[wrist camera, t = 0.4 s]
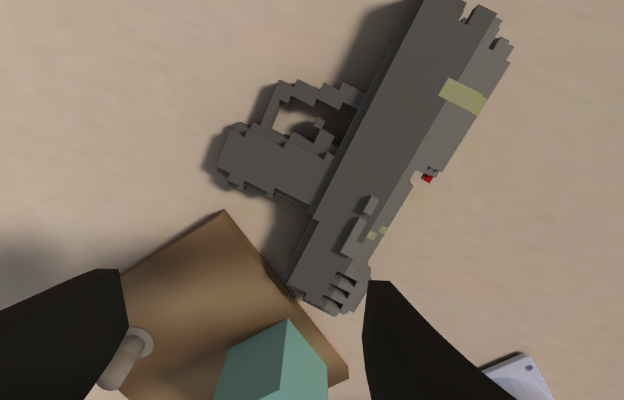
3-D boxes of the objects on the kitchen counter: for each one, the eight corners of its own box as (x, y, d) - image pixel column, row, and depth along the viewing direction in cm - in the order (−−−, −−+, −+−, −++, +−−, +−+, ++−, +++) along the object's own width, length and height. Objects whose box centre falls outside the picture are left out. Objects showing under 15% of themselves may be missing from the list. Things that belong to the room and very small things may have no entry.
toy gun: (179, 247, 18) (346, 332, 18) (305, -87, 13) (538, 29, 13) (209, 224, 21) (349, 295, 21) (317, -46, 16) (501, 45, 16)
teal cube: (326, 366, 22) (330, 451, 17) (269, 393, 23) (256, 481, 18) (287, 318, 20) (278, 395, 15) (229, 348, 21) (202, 431, 16)
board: (347, 366, 23) (353, 422, 19) (193, 438, 26) (172, 500, 22) (224, 209, 19) (201, 241, 15) (56, 314, 22) (2, 363, 18)
